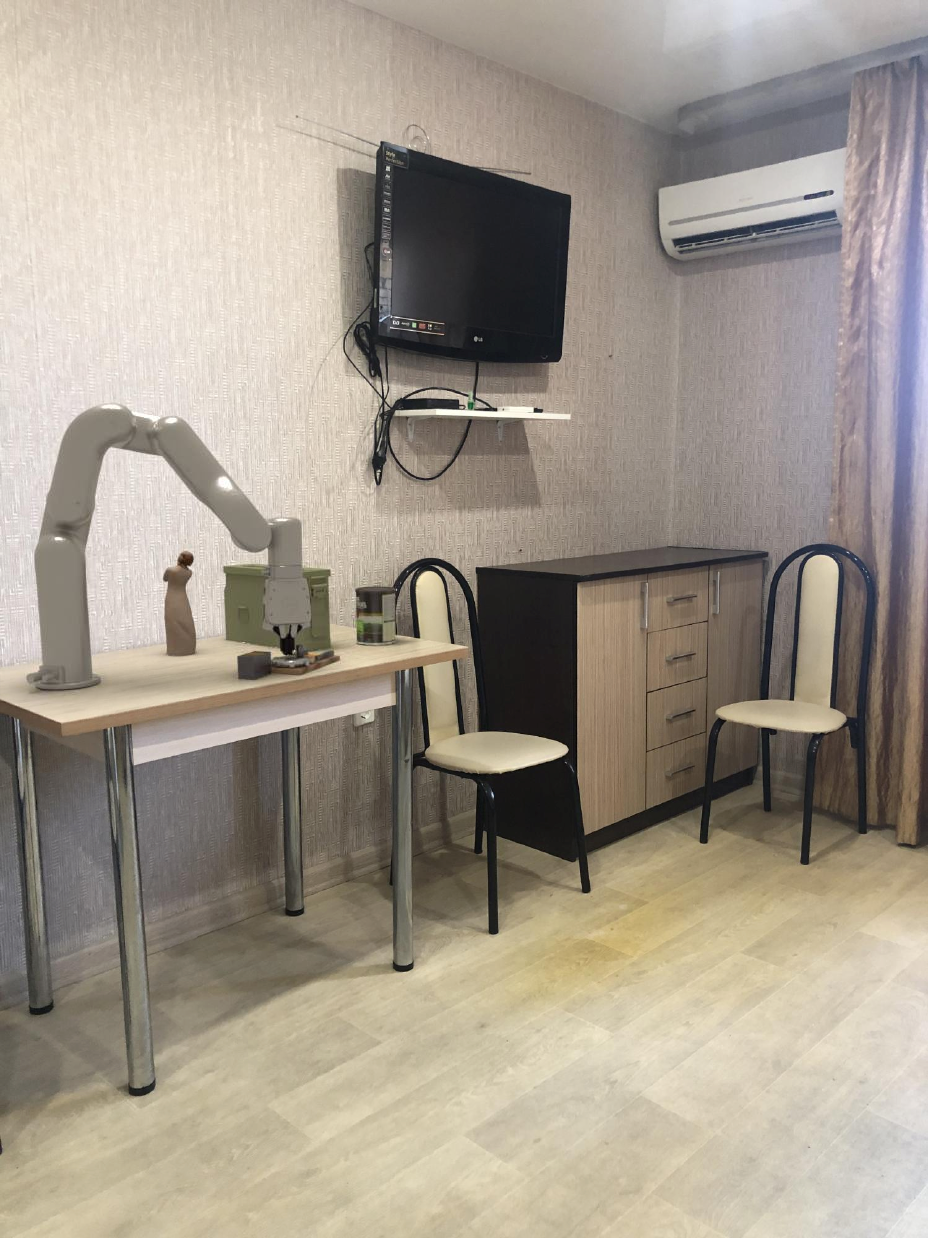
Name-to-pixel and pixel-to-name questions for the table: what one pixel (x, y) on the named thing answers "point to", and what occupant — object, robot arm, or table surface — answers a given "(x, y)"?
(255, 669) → the charcoal rectangular block
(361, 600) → the coffee can
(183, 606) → the figurine
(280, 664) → the sprocket
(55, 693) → the table surface
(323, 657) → the board
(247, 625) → the ammunition box
